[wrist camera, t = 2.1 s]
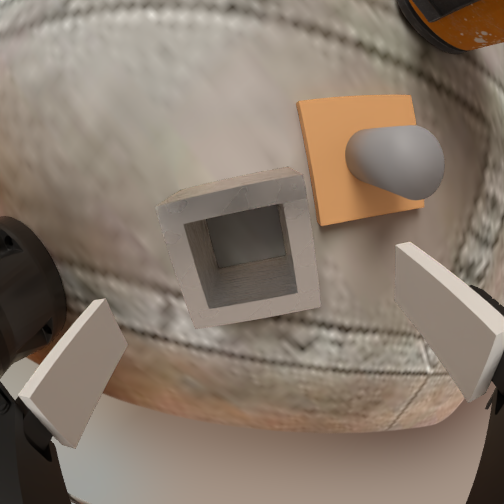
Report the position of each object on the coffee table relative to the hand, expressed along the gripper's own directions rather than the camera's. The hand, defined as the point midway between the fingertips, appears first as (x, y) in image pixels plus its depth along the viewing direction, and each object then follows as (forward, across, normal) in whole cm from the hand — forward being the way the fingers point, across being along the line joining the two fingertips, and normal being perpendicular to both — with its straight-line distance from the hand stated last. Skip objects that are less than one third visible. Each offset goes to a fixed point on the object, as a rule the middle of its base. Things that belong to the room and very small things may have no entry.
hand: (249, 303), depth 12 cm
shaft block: (+10, +10, +4) cm, 15 cm away
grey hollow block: (+10, 0, 0) cm, 10 cm away
